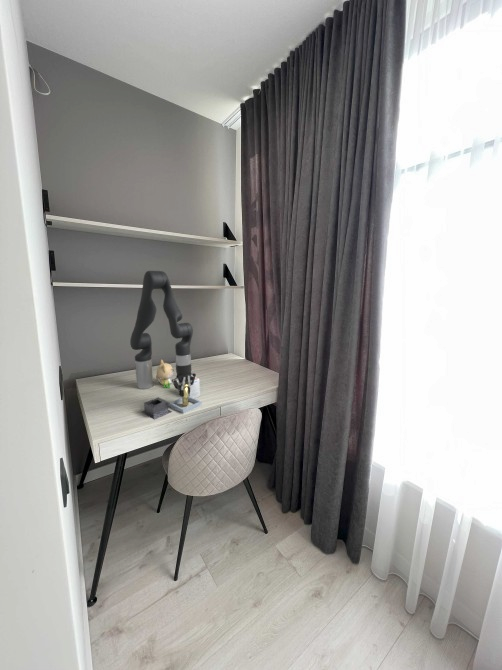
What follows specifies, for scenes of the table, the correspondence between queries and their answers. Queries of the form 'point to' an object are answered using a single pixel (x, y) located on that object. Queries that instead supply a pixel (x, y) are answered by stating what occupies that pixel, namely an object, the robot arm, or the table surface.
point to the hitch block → (156, 408)
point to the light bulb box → (195, 389)
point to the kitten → (164, 374)
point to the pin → (185, 395)
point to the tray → (197, 404)
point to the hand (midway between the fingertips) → (185, 394)
